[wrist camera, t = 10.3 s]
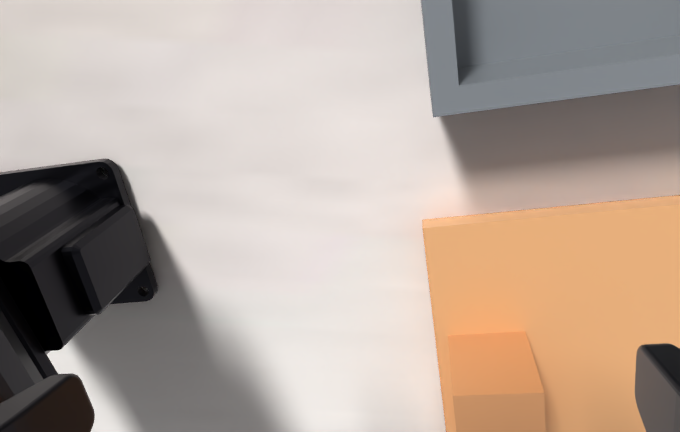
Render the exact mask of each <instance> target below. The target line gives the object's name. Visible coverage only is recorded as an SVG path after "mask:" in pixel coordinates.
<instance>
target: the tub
mask: <svg viewBox="0 0 680 432" xmlns="http://www.w3.org/2000/svg"><path fill="white" fill-rule="evenodd" d="M421 6H422V16H423V26H424V35H425V45H426V55H427V65H428V75H429V84H430V94H431V103H432V111H433V117H439V116H446V115H454V114H461V113H469V112H476V111H484V110H491V109H499V108H506V107H514V106H521V105H529V104H536V103H544V102H551V101H559V100H566V99H574V98H581V97H589V96H596V95H604V94H612V93H619V92H627V91H634V90H642V89H649V88H657V87H664V86H672V85H679V84H680V0H421Z"/></svg>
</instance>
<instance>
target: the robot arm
mask: <svg viewBox="0 0 680 432" xmlns="http://www.w3.org/2000/svg"><path fill="white" fill-rule="evenodd" d="M102 168H105V169H106V170H107V172H108V176H106V175H105V174H103V172H102ZM142 287H145V288H147V290H148V292H147V291H145V290H143V288H142ZM157 291H158V287H157V283H156V280H155V277H154V274H153V271H152V268H151V265H150V257H149V254H148V251H147V248H146V245H145V242H144V239H143V235H142V232H141V229H140V226H139V223H138V220H137V217H136V214H135V211H134V209H133V208H132V207H131V205H130V202H129V199H128V196H127V193H126V190H125V187H124V184H123V181H122V178H121V175H120V172H119V169H118V167H117V165H116V164H115V163H114V162H113V161H111V160H109V159H98V160H90V161H83V162H75V163H68V164H60V165H53V166H46V167H38V168H31V169H23V170H16V171H8V172H1V173H0V432H90V431H91V429H92V426H93V423H94V409H93V407H92V404H91V402H90V400H89V397H88V395H87V392H86V390H85V388H84V385H83V383H82V381H81V379H80V378H79V377H78V376H77V375H75V374H58V373H57V371H56V370H55V368H54V366H53V365H52V363H51V361H50V360H49V358H48V356H47V354H48V353H49V352H50V351H53V350H60V349H62V348H63V347H64V346H65V345H66V344H67V343H68V342H69V341H70V340H71V339H72V338H73V337H74V336H75V335H76V334H77V333H78V332H79V331H80V330H81V329H82V327H83V326H84V325H85V324H86V323H87V322H88V321H89V320H90V319H91V318H92V317H93V316H94V315H98V314H100V313H101V312H102V311H103V310H104V309H105V308H106V307H107V306H108V305H109V304H117V303H129V302H142V301H149V300H151V299H152V298H153V297H154V296H155V294H156V293H157ZM635 399H636V404H637V408H638V411H639V413H640V416H641V419H642V422H643V424H644V427H645V430H646V432H680V348H678V347H676V346H675V345H672V344H669V343H660V344H643V345H641V346H640V347H639V348H638V350H637V353H636V371H635Z"/></svg>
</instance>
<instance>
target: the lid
mask: <svg viewBox="0 0 680 432" xmlns="http://www.w3.org/2000/svg"><path fill="white" fill-rule="evenodd" d="M422 224H423V236H424V245H425V254H426V262H427V271H428V279H429V288H430V297H431V305H432V314H433V322H434V331H435V340H436V348H437V357H438V365H439V374H440V383H441V391H442V400H443V408H444V417H445V426H446V432H646V430H645V427H644V424H643V422H642V419H641V416H640V413H639V411H638V408H637V404H636V399H635V371H636V353H637V350H638V348H639V347H640V346H641V345H643V344H660V343H669V344H672V345H675V346H676V347H678V348H680V195H675V196H664V197H654V198H643V199H633V200H623V201H612V202H602V203H591V204H581V205H571V206H560V207H550V208H539V209H529V210H519V211H508V212H498V213H487V214H477V215H467V216H456V217H446V218H436V219H425V220H422Z"/></svg>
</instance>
